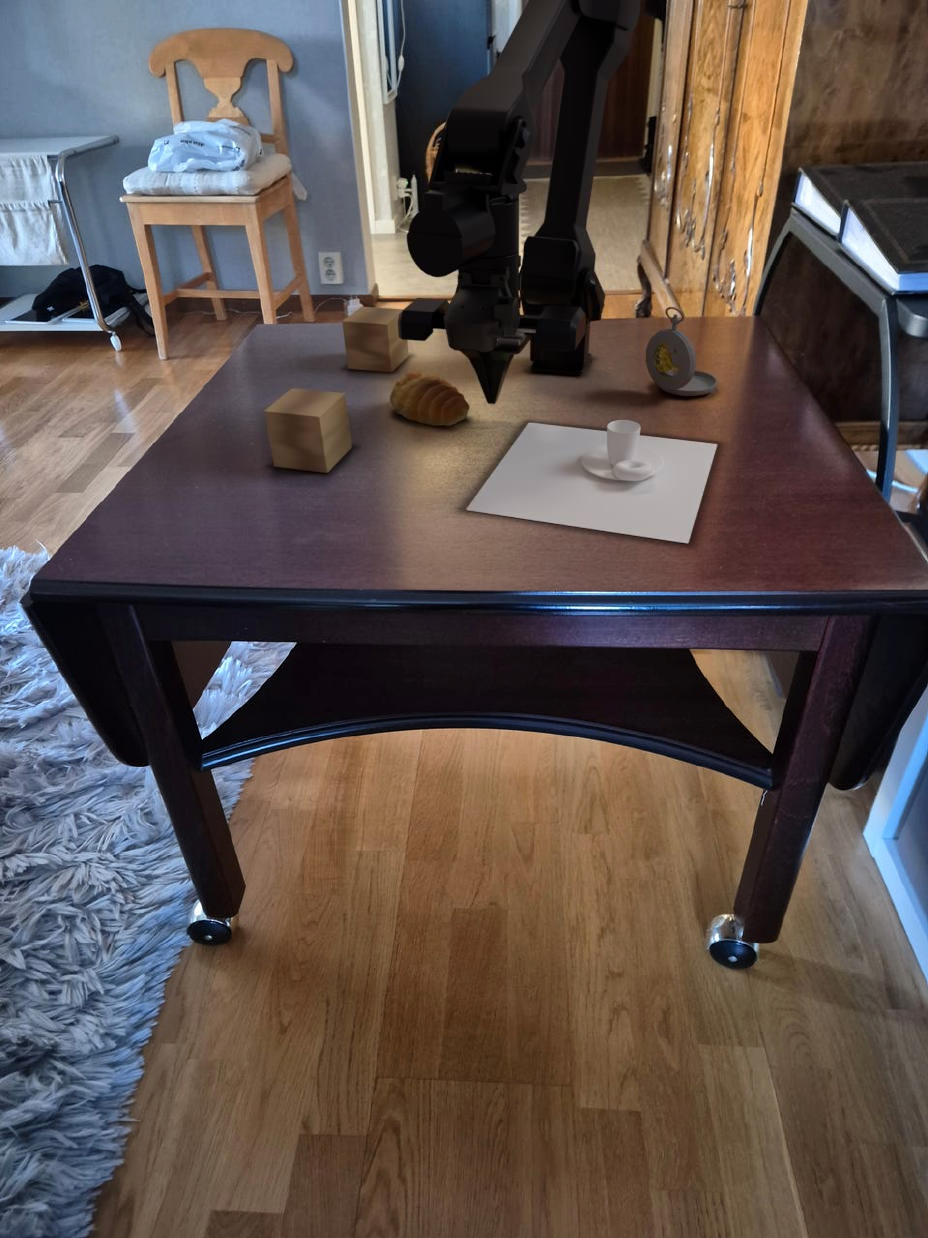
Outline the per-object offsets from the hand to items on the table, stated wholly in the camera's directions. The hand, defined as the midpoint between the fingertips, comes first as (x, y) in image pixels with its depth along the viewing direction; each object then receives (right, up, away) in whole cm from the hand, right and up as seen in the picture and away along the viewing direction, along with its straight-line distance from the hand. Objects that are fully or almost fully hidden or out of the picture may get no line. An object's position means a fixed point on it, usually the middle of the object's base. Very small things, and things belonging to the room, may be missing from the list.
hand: (492, 402), depth 92 cm
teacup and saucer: (+10, -10, -10) cm, 17 cm away
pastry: (-7, -1, +3) cm, 8 cm away
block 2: (-14, +9, +16) cm, 24 cm away
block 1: (-19, -7, -5) cm, 20 cm away
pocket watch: (+22, +3, +6) cm, 23 cm away
